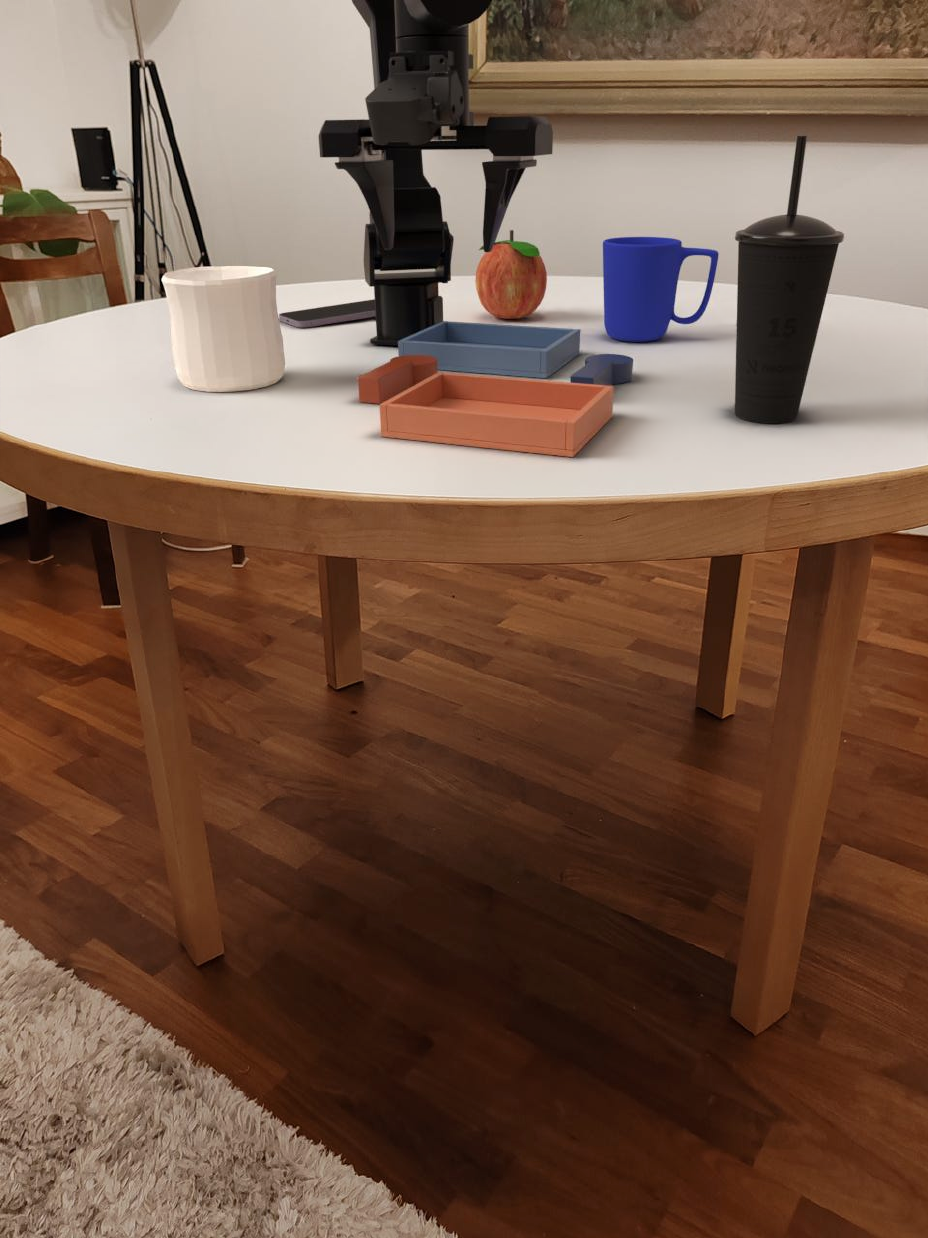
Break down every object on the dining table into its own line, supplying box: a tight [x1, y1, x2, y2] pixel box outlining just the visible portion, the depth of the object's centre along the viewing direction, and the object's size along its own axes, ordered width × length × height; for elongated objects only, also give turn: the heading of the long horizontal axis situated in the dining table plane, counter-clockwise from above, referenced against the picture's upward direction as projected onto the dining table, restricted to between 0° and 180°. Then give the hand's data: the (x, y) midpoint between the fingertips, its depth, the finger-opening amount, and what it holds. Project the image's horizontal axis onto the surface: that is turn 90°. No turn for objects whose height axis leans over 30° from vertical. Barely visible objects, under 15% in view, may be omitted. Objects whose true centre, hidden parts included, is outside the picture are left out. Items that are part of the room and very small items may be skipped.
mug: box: [602, 236, 719, 343], centre depth 102 cm, size 8×12×10 cm
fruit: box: [474, 229, 548, 320], centre depth 114 cm, size 9×10×10 cm
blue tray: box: [397, 320, 581, 379], centre depth 95 cm, size 15×11×2 cm
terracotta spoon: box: [357, 355, 439, 405], centre depth 85 cm, size 11×4×2 cm, turn 158°
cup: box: [160, 265, 286, 393], centre depth 87 cm, size 10×10×10 cm
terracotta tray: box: [379, 371, 615, 458], centre depth 74 cm, size 15×11×2 cm
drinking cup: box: [734, 135, 845, 424], centre depth 72 cm, size 8×8×20 cm
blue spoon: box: [569, 353, 634, 386], centre depth 85 cm, size 11×4×2 cm, turn 158°
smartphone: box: [278, 298, 376, 328], centre depth 118 cm, size 7×1×15 cm
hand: (437, 250), depth 82 cm, fingers open, 9 cm apart
